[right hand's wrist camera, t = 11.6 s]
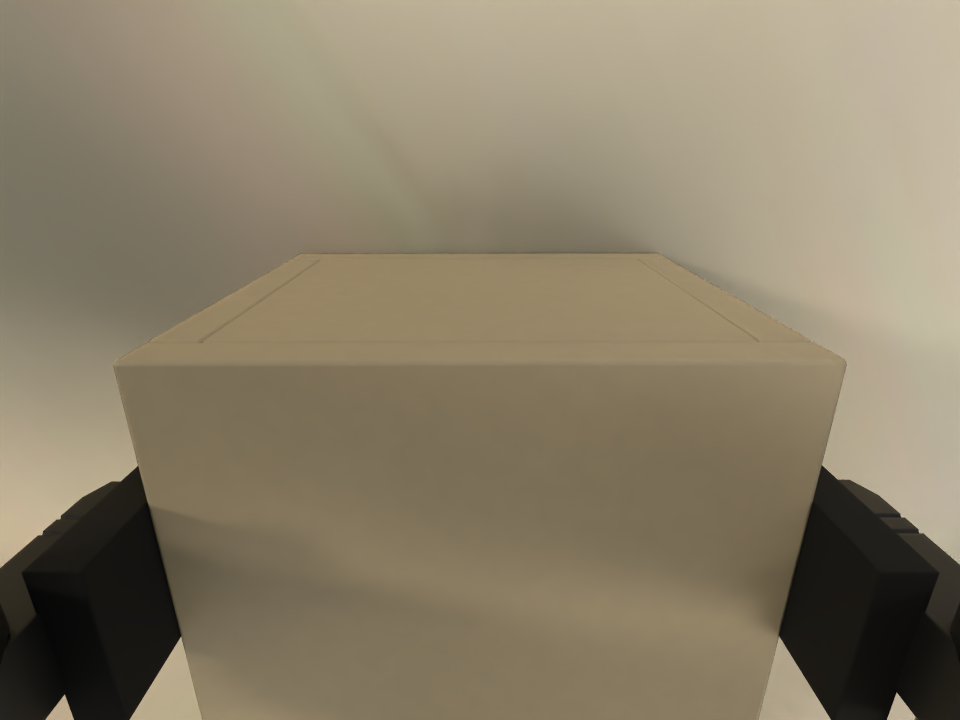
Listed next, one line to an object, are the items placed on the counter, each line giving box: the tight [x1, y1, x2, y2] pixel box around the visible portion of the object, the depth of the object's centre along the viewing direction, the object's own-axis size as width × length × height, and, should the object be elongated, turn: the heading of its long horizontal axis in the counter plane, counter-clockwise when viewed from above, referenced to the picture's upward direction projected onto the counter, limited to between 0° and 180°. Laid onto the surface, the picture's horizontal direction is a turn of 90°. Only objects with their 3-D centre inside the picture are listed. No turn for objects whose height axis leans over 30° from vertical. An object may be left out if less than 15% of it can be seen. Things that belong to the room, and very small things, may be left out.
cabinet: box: [114, 253, 846, 720], centre depth 15 cm, size 20×10×9 cm, turn 0°
